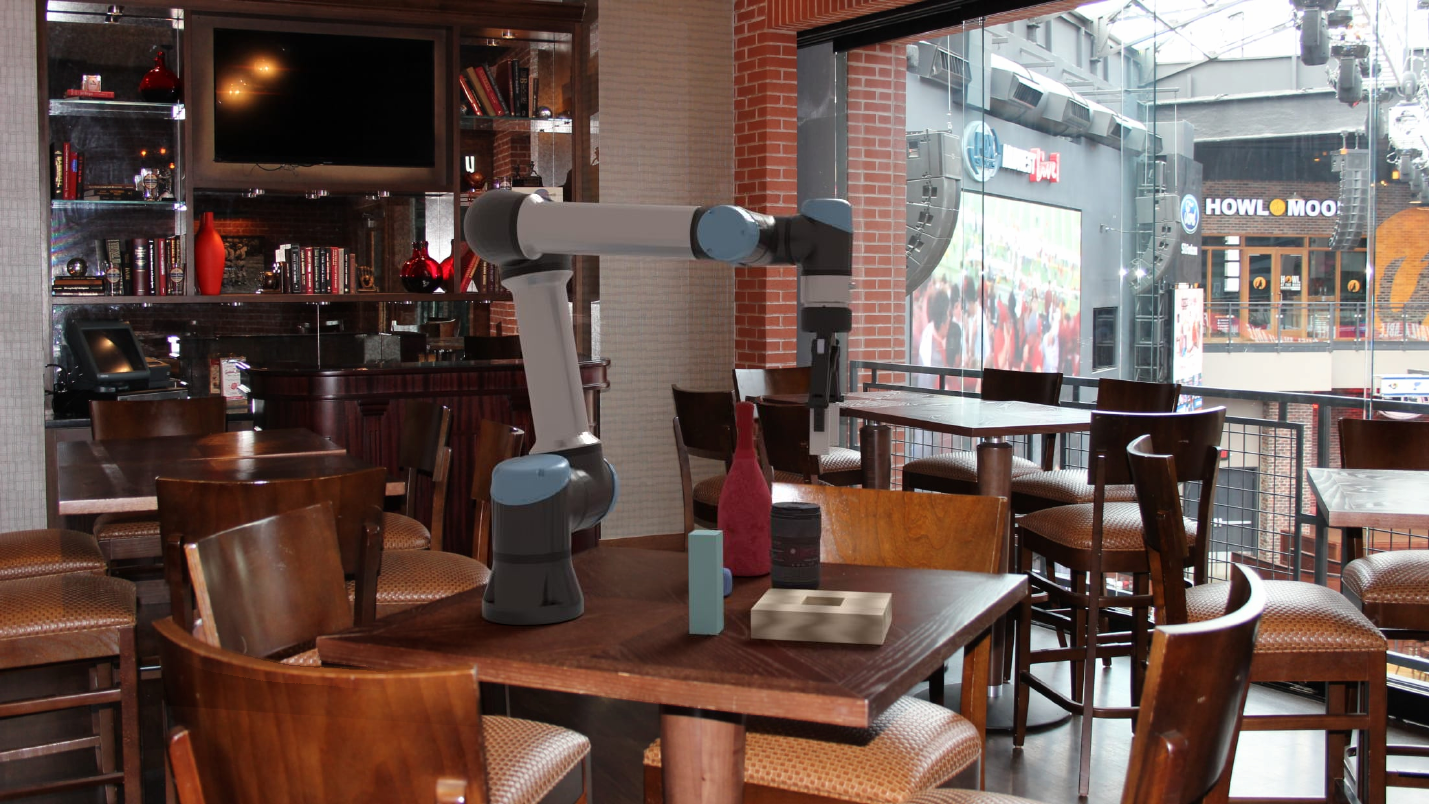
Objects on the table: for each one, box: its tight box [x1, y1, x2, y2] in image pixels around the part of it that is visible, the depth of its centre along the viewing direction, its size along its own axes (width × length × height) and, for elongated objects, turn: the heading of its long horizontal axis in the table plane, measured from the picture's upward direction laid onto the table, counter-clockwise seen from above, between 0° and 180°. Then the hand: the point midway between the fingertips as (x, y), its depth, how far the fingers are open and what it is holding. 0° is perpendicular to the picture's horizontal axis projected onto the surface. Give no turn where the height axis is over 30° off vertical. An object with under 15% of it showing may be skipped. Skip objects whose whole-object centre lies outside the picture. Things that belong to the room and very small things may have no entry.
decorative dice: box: [723, 568, 733, 597], centre depth 197 cm, size 4×4×4 cm
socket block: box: [750, 588, 893, 645], centre depth 173 cm, size 18×14×4 cm
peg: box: [687, 529, 725, 636], centre depth 173 cm, size 4×4×14 cm
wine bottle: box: [717, 400, 774, 577], centre depth 214 cm, size 10×10×30 cm
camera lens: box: [769, 501, 823, 590], centre depth 193 cm, size 8×8×15 cm
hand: (824, 450), depth 181 cm, fingers open, 13 cm apart
